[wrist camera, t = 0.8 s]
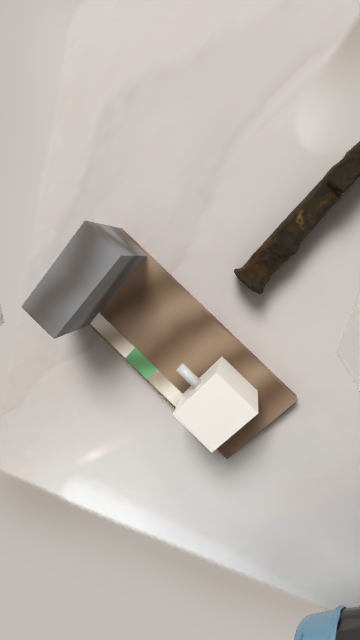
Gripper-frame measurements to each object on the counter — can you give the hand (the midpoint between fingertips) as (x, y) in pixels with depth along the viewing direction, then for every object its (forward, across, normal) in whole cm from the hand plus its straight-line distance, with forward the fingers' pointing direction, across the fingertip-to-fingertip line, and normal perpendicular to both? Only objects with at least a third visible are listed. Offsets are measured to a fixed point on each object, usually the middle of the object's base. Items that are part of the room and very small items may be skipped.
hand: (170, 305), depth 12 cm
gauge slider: (+21, -4, +22) cm, 31 cm away
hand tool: (+28, -12, +2) cm, 31 cm away
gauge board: (+25, 0, +18) cm, 31 cm away
